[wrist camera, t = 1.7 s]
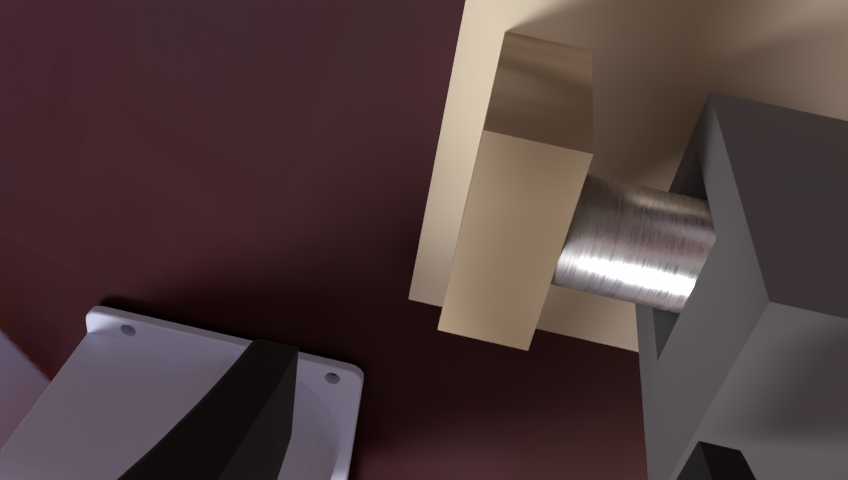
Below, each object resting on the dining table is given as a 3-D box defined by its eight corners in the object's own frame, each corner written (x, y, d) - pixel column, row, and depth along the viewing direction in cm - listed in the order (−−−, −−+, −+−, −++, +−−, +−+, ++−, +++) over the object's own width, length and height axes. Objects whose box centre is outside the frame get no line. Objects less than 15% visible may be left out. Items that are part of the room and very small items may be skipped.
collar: (633, 276, 20) (650, 511, 14) (709, 91, 17) (769, 301, 11) (751, 303, 20) (814, 549, 14) (850, 121, 17) (979, 348, 11)
